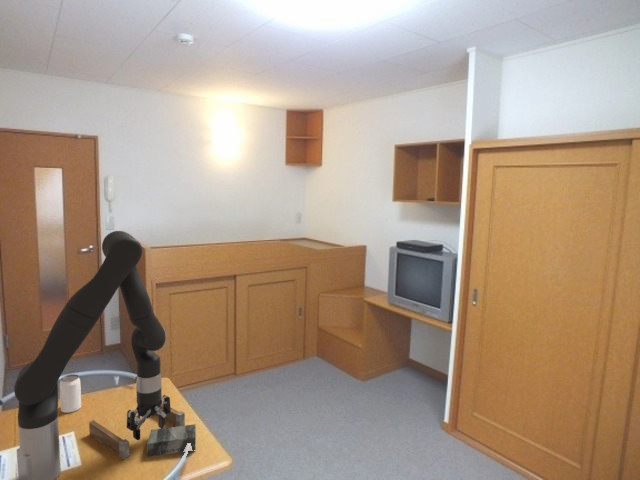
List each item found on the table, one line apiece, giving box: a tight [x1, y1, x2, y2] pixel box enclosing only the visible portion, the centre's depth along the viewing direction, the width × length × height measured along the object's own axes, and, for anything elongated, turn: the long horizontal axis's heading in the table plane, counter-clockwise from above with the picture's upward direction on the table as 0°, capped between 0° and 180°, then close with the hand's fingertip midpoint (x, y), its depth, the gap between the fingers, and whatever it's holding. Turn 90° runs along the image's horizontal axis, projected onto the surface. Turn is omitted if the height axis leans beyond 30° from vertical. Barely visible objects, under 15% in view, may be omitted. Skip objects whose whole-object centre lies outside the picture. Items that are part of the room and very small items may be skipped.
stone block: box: [146, 423, 197, 458], centre depth 135 cm, size 9×14×5 cm, turn 104°
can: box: [59, 373, 82, 414], centre depth 153 cm, size 6×6×12 cm
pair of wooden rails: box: [88, 403, 186, 461], centre depth 142 cm, size 22×20×5 cm
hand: (149, 433), depth 138 cm, fingers open, 8 cm apart
